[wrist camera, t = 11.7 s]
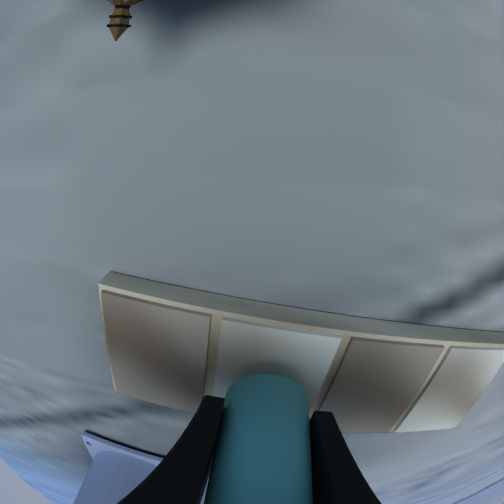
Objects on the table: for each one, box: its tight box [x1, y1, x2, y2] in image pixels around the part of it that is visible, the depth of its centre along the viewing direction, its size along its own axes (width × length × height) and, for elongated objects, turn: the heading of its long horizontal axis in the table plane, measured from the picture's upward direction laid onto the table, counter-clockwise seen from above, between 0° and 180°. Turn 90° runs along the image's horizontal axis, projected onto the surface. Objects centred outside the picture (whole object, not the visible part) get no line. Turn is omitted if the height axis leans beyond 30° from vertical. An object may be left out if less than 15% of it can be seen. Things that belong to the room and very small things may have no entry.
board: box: [98, 271, 504, 433], centre depth 12 cm, size 6×18×1 cm, turn 81°
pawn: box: [204, 374, 313, 504], centre depth 7 cm, size 3×3×7 cm
